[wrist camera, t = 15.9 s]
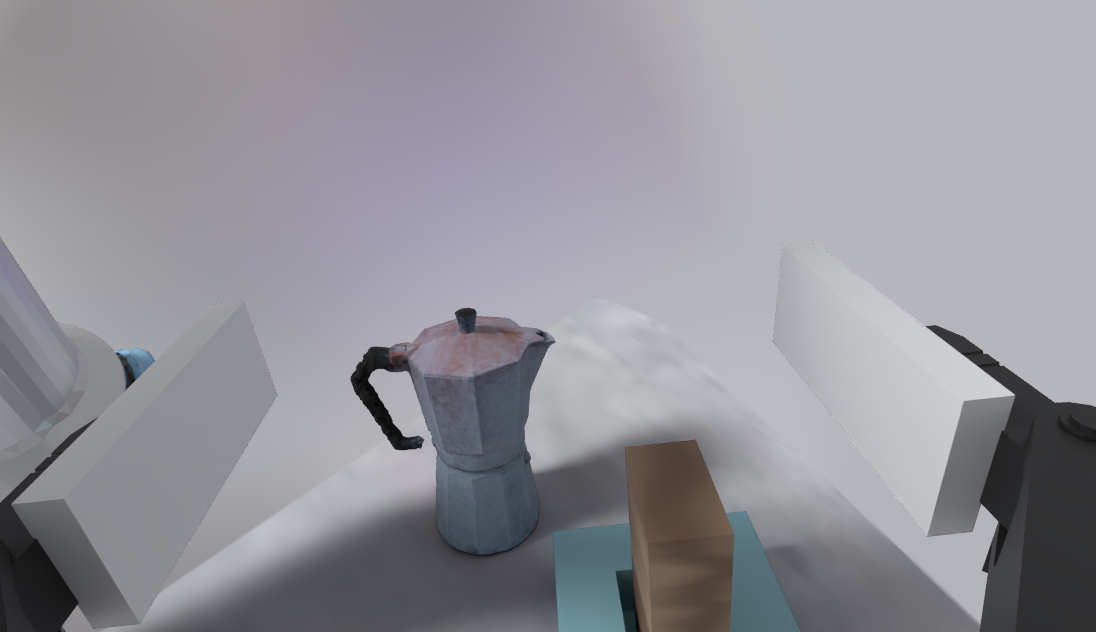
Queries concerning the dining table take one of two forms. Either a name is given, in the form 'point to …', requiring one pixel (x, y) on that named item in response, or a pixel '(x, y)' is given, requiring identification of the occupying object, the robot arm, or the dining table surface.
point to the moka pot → (470, 422)
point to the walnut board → (678, 541)
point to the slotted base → (607, 581)
